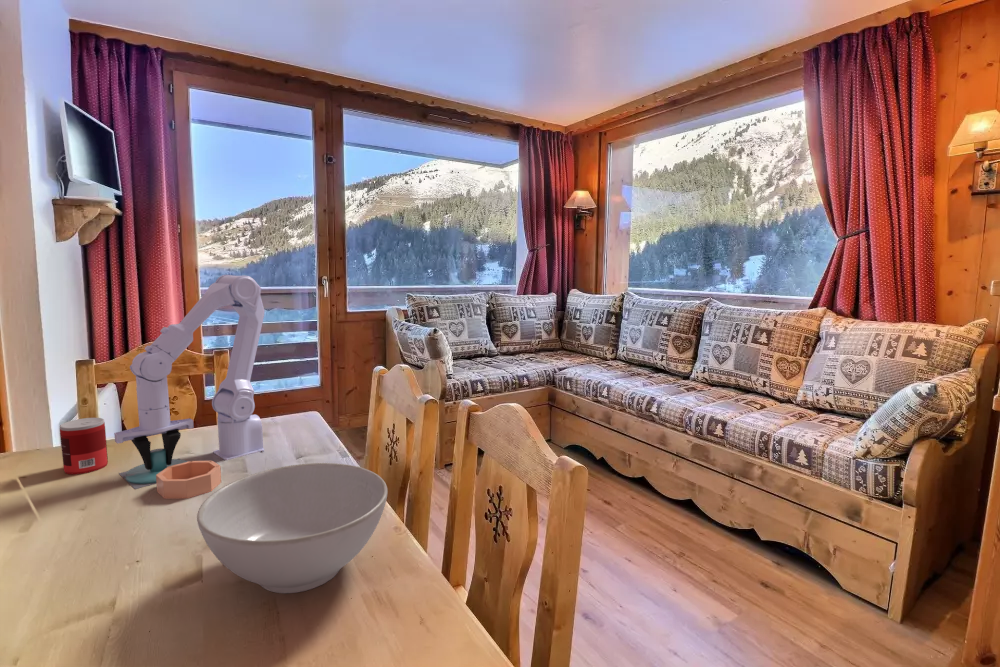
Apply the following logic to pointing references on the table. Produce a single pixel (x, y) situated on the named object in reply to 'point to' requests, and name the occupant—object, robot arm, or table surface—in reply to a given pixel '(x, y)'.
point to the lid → (149, 476)
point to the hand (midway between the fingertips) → (158, 466)
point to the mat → (134, 483)
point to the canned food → (83, 445)
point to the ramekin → (188, 479)
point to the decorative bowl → (293, 523)
